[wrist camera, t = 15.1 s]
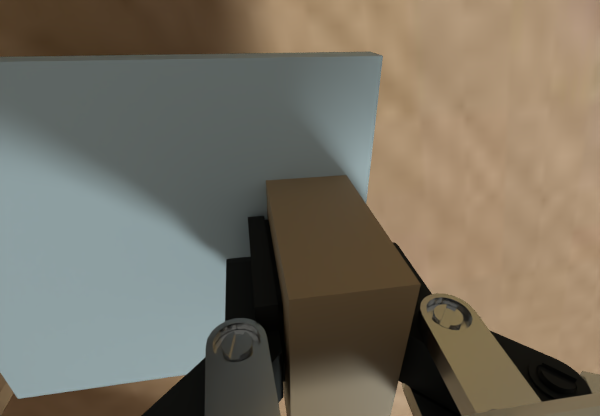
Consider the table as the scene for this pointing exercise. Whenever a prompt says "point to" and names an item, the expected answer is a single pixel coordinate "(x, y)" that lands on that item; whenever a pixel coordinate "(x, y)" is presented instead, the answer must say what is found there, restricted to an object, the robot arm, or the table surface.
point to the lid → (194, 220)
